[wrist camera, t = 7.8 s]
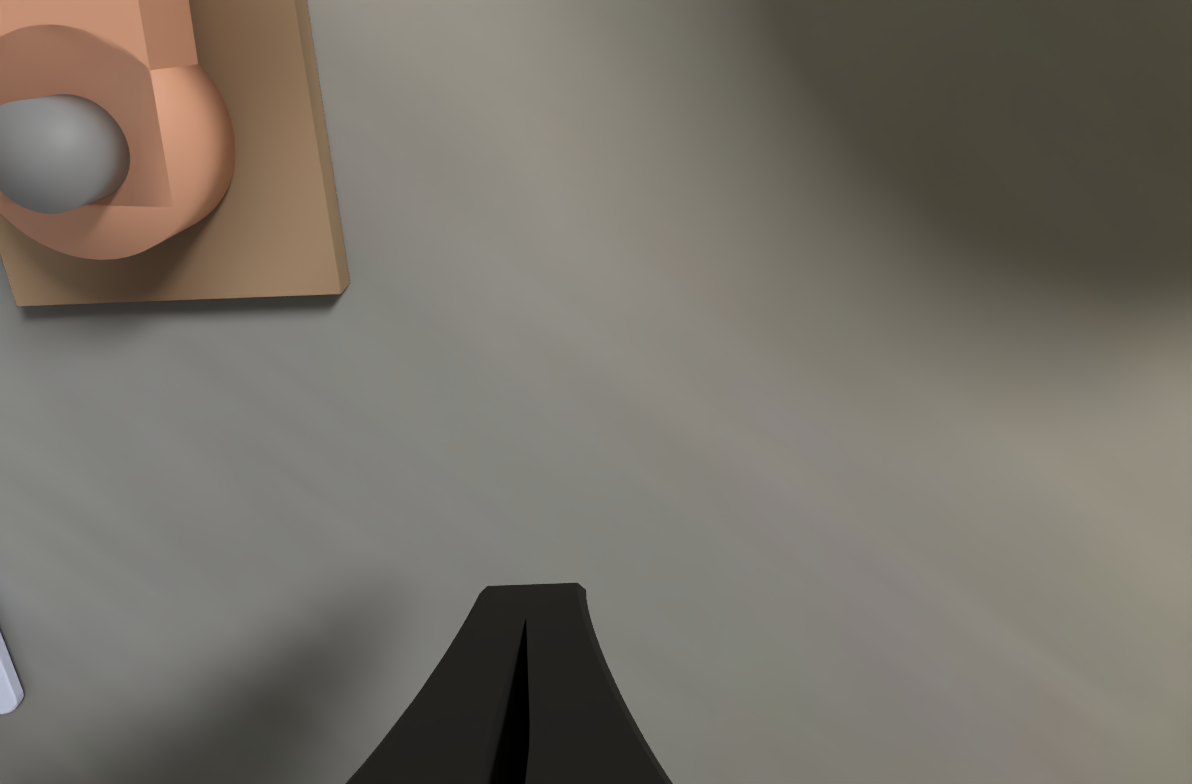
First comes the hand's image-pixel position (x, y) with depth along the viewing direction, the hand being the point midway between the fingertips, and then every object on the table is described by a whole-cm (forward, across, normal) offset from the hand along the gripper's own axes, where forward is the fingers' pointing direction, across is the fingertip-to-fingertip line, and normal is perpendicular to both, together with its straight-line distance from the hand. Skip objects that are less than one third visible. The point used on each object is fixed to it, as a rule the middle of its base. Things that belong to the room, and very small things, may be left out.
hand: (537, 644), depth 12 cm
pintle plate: (+9, +8, -6) cm, 14 cm away
